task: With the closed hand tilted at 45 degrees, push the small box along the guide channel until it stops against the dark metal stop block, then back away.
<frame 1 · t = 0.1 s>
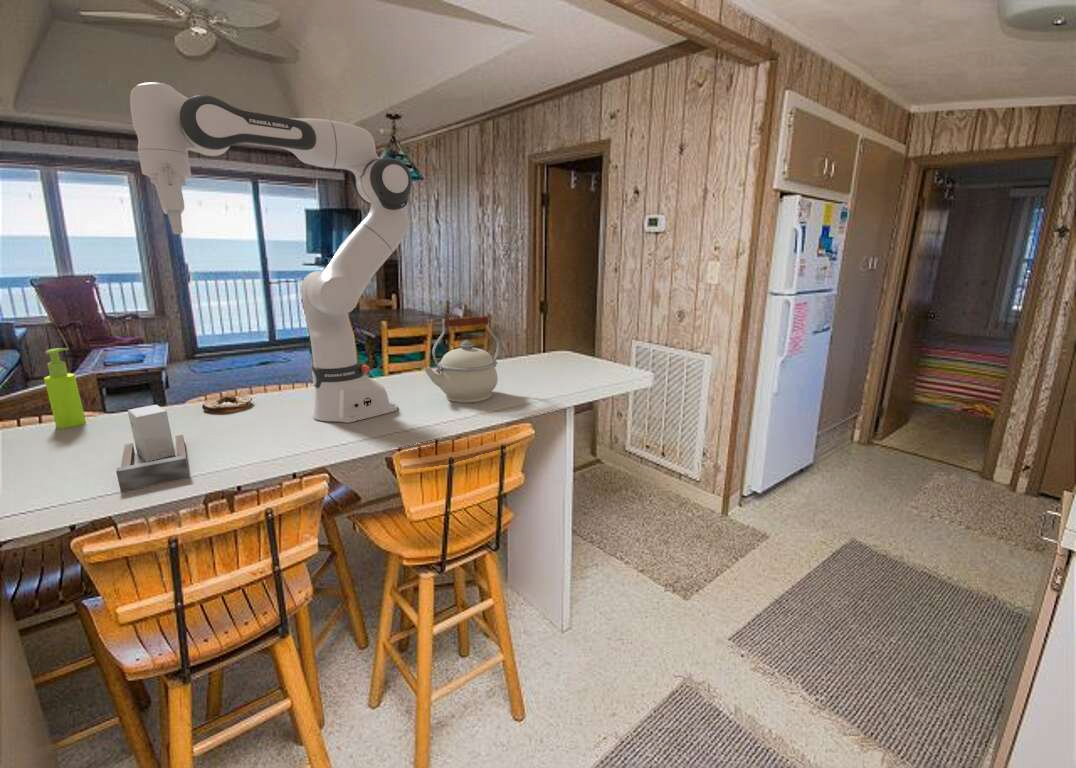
hand: (177, 234, 115), 48 cm above the breakfast bar, tool pointing down, fingers open, 8 cm apart
soap dispenser: (72, 424, 136), on the breakfast bar
guide channel: (156, 463, 111), on the breakfast bar
small box: (156, 455, 116), on the breakfast bar
kettle: (463, 397, 161), on the breakfast bar
brown speckled ring: (228, 409, 150), on the breakfast bar
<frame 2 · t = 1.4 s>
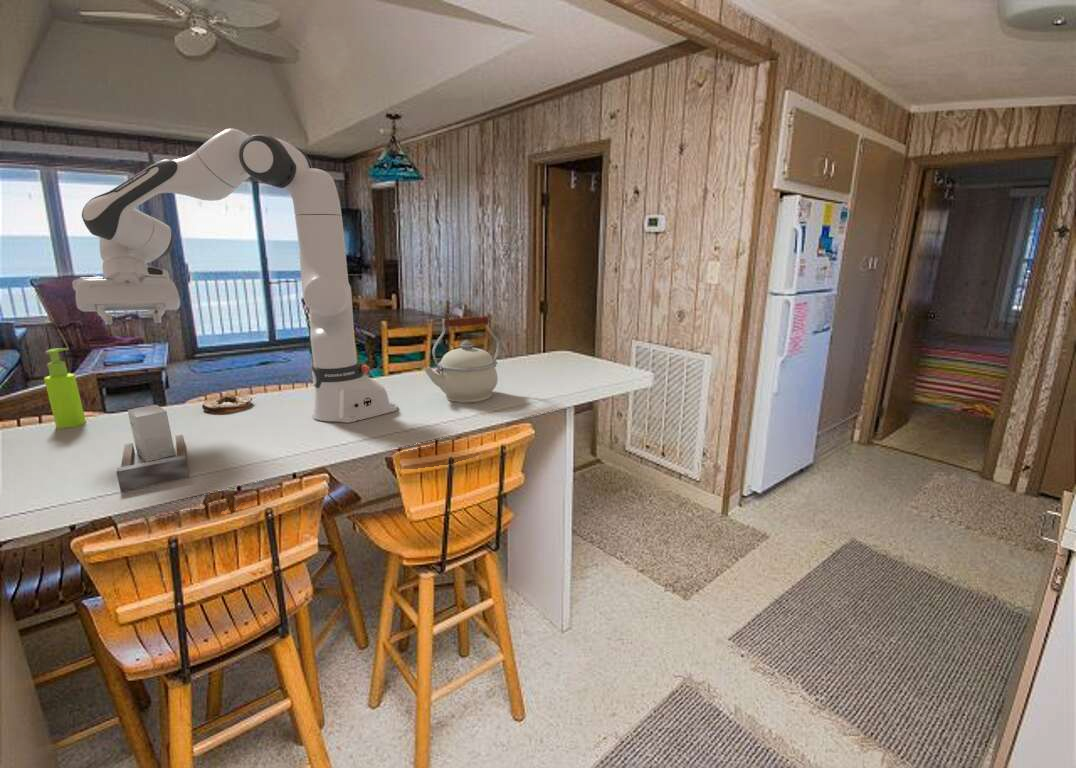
hand: (133, 322, 125), 27 cm above the breakfast bar, tool tilted 45°, fingers open, 8 cm apart
nothing on the breakfast bar moved.
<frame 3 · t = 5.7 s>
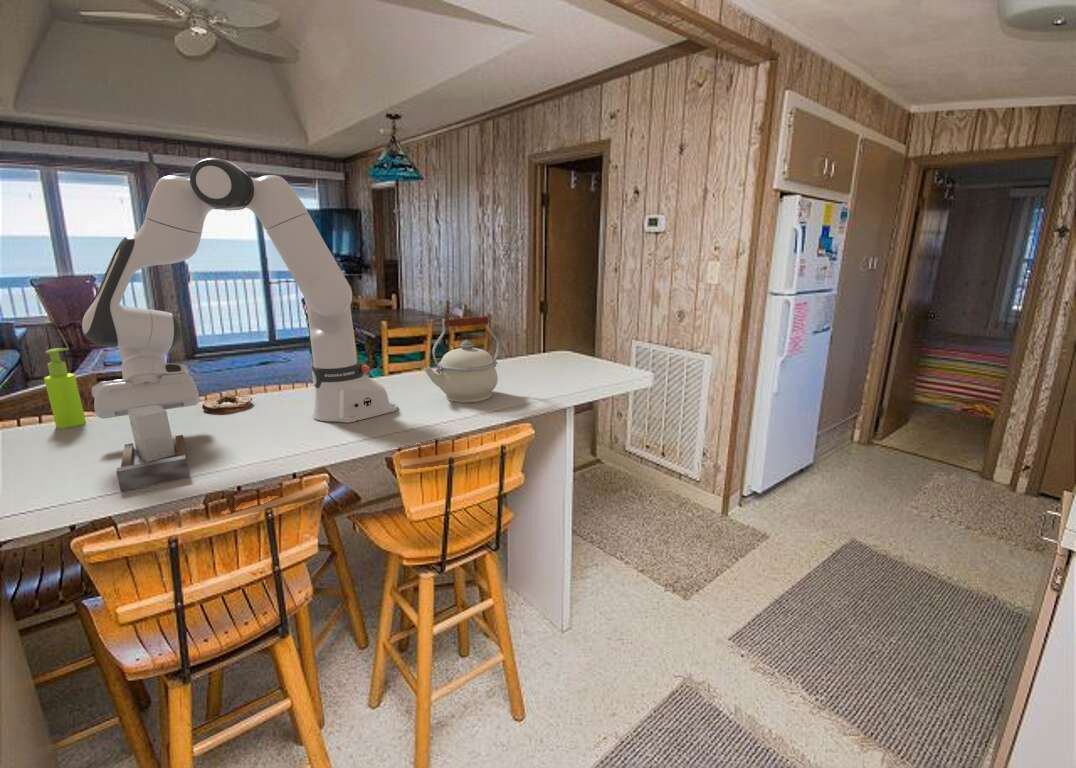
hand: (152, 425, 122), 4 cm above the breakfast bar, tool tilted 45°, fingers closed
nothing on the breakfast bar moved.
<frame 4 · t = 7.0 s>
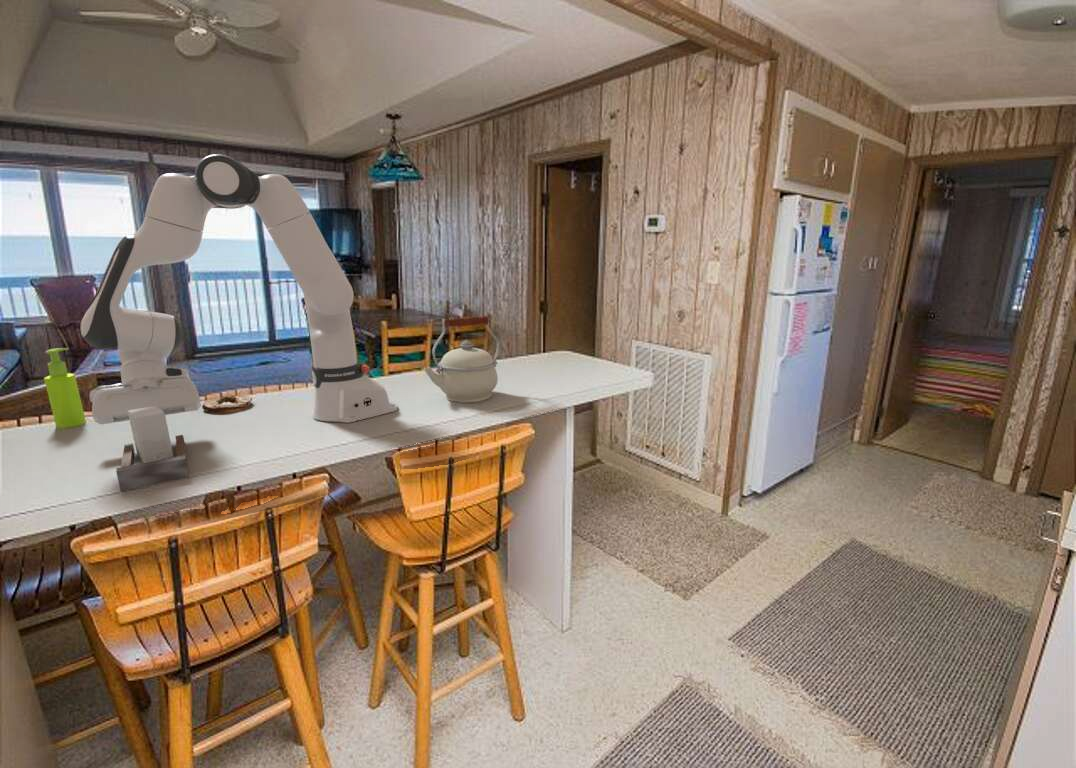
hand: (152, 431, 118), 4 cm above the breakfast bar, tool tilted 45°, fingers closed
small box: (155, 456, 115), on the breakfast bar, touching gripper
everything else where it was.
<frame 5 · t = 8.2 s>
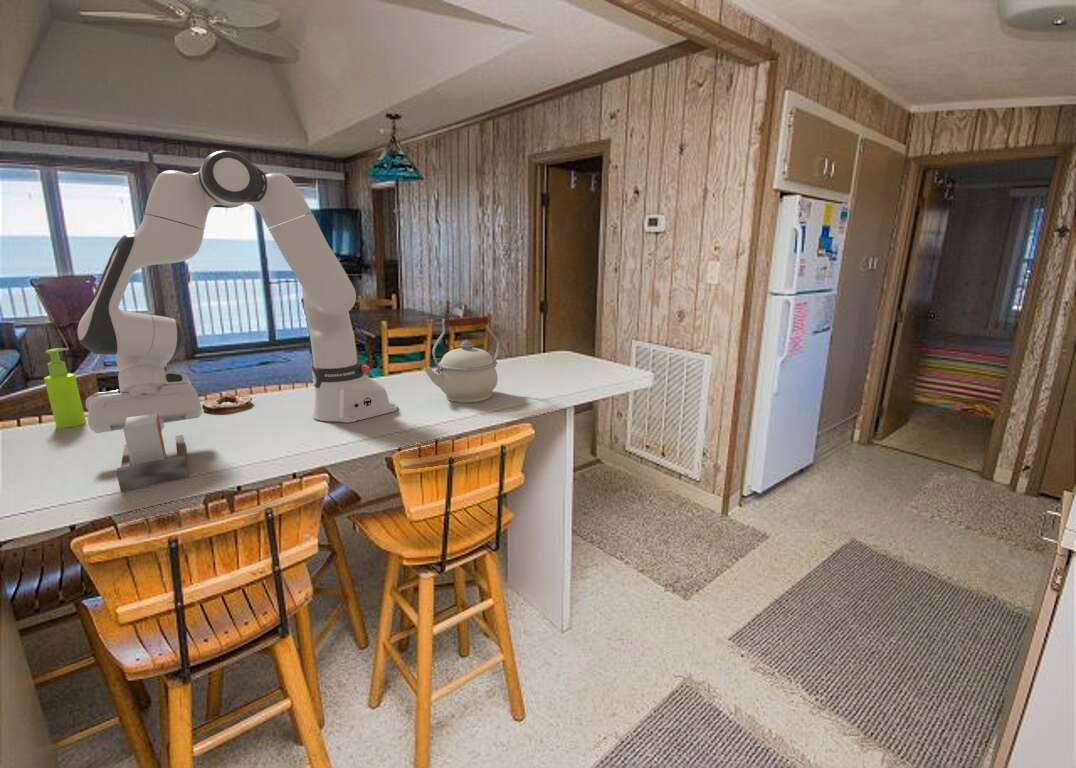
hand: (151, 440, 113), 4 cm above the breakfast bar, tool tilted 45°, fingers closed, pressing on small box
small box: (151, 467, 110), on the breakfast bar, touching gripper
everything else where it was.
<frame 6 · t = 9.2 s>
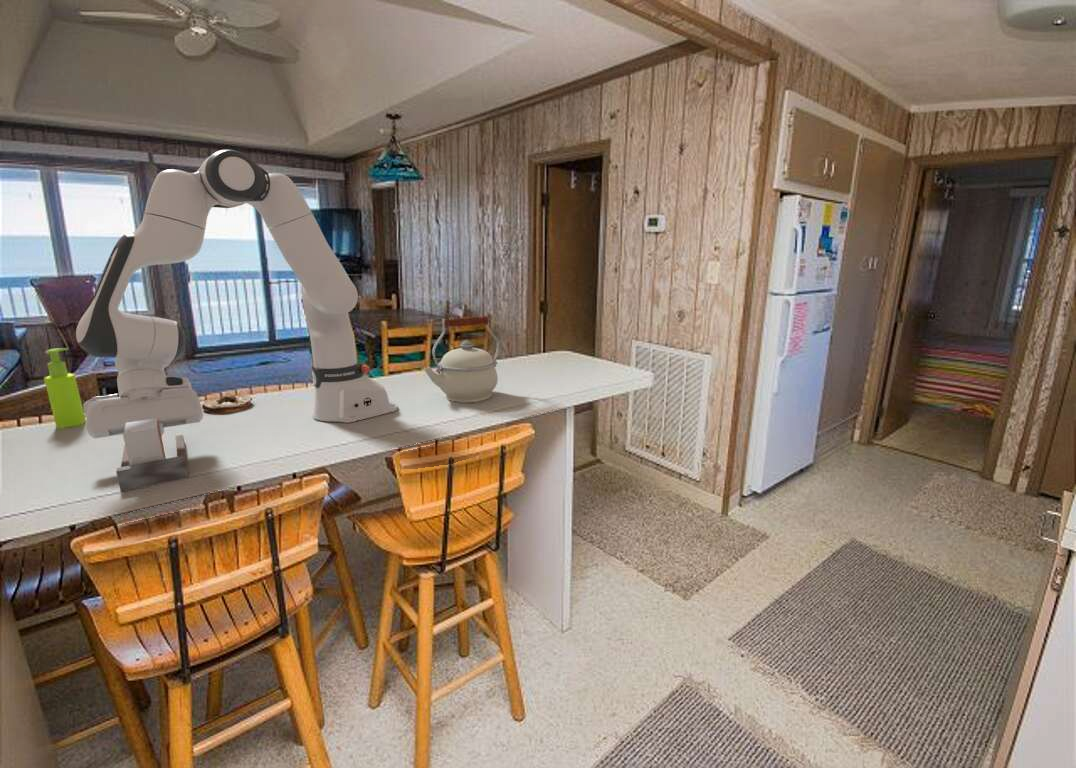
hand: (151, 445, 110), 4 cm above the breakfast bar, tool tilted 45°, fingers closed, pressing on small box
small box: (151, 473, 107), on the breakfast bar, touching gripper
everything else where it was.
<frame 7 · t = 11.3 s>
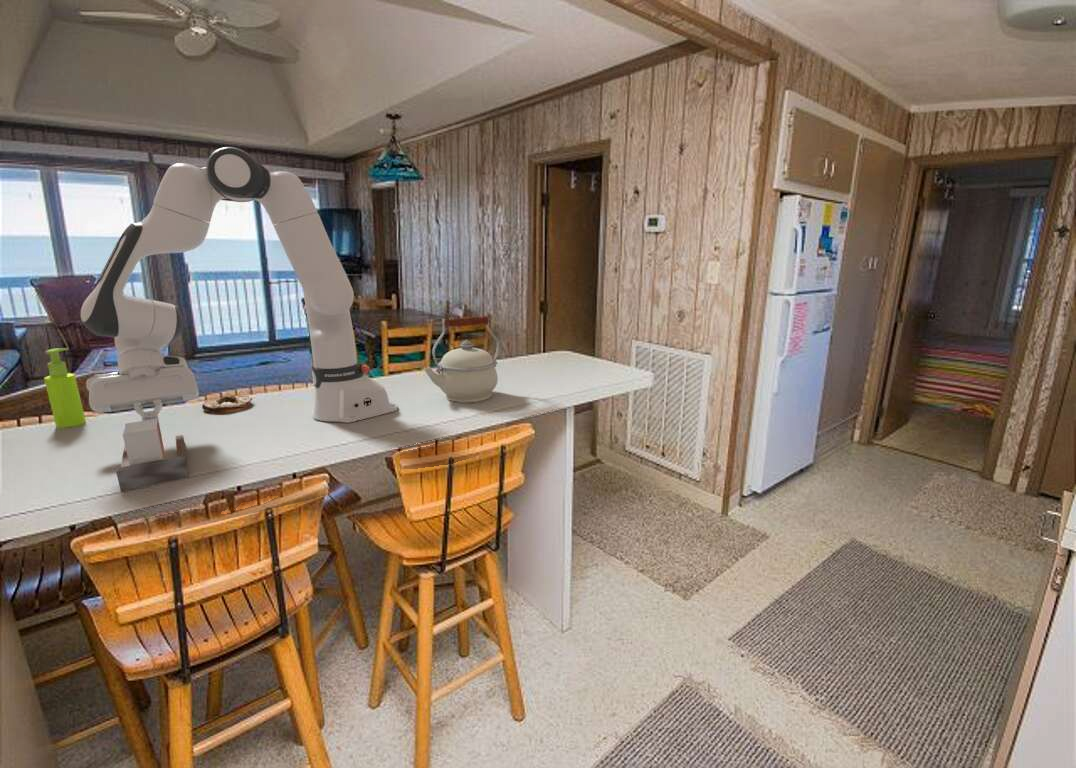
hand: (150, 420, 117), 7 cm above the breakfast bar, tool tilted 45°, fingers closed
small box: (151, 474, 106), on the breakfast bar
everything else where it was.
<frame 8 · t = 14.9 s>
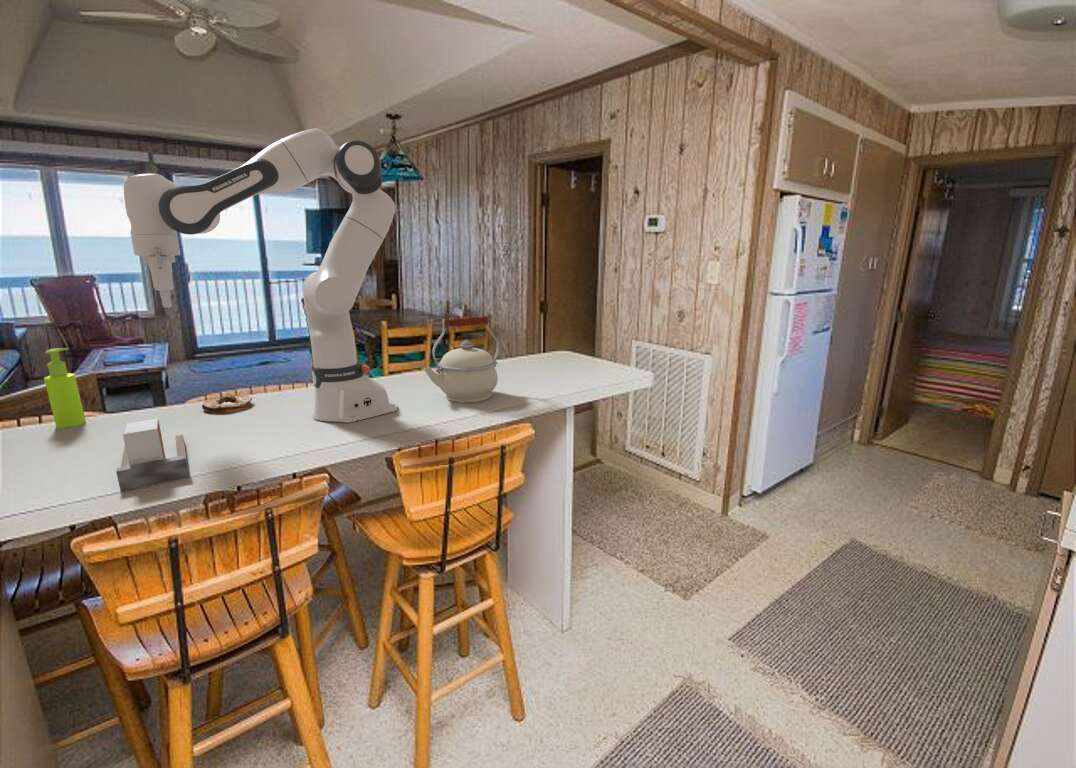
hand: (167, 307, 125), 31 cm above the breakfast bar, tool pointing down, fingers closed
nothing on the breakfast bar moved.
at the end: small box 0.9 cm from the target spot, on the breakfast bar; small box tilted 0°; the gripper is holding nothing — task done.
